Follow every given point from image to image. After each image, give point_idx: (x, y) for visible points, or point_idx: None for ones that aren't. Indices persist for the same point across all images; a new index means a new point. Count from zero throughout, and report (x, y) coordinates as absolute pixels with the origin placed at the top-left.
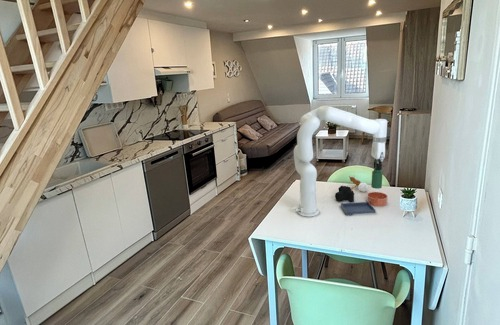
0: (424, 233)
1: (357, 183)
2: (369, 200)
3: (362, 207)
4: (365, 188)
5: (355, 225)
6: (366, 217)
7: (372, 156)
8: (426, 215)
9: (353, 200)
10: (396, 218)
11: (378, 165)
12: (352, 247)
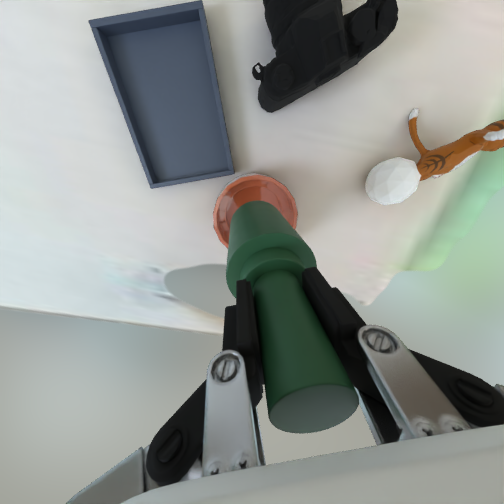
0: (54, 293)
1: (428, 156)
2: (234, 180)
3: (200, 141)
4: (370, 189)
5: (2, 67)
6: (110, 142)
7: (492, 452)
8: (175, 320)
9: (263, 105)
10: (134, 248)
11: (223, 340)
12: None
